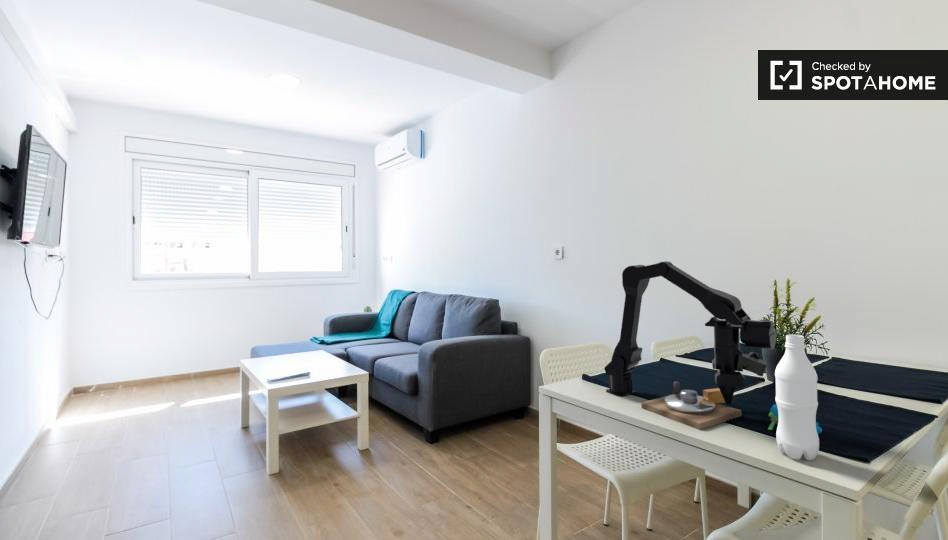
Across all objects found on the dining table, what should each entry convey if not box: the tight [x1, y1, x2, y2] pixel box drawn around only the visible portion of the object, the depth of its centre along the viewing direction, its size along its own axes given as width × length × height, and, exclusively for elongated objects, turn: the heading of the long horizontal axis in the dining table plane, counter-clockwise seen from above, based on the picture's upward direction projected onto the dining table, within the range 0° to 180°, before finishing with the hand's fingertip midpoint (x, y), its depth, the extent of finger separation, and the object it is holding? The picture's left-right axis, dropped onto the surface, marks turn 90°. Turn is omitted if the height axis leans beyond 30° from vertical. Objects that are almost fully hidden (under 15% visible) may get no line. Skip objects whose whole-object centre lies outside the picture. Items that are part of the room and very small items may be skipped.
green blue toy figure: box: [767, 403, 823, 435], centre depth 101 cm, size 11×6×10 cm
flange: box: [665, 387, 726, 414], centre depth 118 cm, size 17×12×4 cm
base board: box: [640, 380, 742, 430], centre depth 118 cm, size 18×16×6 cm
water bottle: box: [774, 333, 820, 461], centre depth 91 cm, size 7×7×25 cm
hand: (728, 403), depth 114 cm, fingers closed
